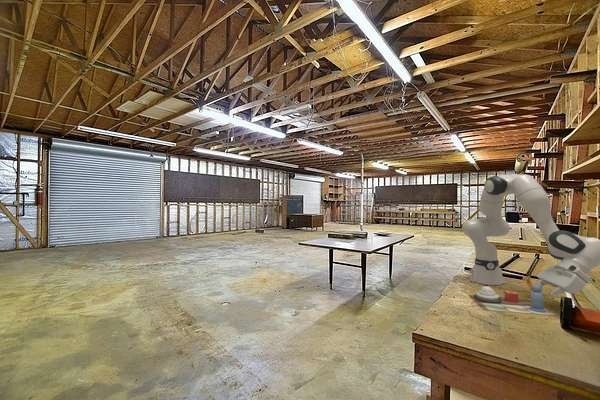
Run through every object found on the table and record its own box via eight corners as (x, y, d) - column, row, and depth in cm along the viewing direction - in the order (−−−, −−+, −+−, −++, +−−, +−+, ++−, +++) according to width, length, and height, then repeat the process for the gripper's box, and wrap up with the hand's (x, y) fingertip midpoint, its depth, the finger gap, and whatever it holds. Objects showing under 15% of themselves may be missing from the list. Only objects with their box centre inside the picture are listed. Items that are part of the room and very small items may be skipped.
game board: (467, 297, 138) (467, 292, 138) (527, 301, 130) (527, 296, 131) (483, 313, 116) (483, 308, 116) (556, 319, 109) (556, 313, 109)
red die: (504, 299, 130) (504, 290, 130) (514, 299, 129) (514, 291, 129) (508, 302, 126) (508, 293, 126) (518, 302, 125) (518, 293, 125)
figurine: (539, 304, 127) (538, 278, 127) (523, 301, 131) (521, 276, 131) (541, 299, 132) (540, 275, 133) (525, 297, 137) (524, 273, 137)
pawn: (527, 307, 118) (526, 282, 119) (541, 308, 117) (540, 283, 117) (533, 311, 113) (532, 286, 114) (548, 312, 112) (547, 287, 112)
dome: (473, 293, 135) (473, 283, 136) (494, 294, 133) (493, 284, 133) (480, 299, 127) (479, 288, 127) (502, 300, 124) (501, 289, 125)
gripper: (548, 260, 123) (524, 280, 126) (581, 269, 104) (552, 293, 106) (560, 270, 122) (536, 290, 124) (596, 282, 102) (566, 306, 104)
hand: (543, 292), depth 115 cm, fingers open, 8 cm apart
